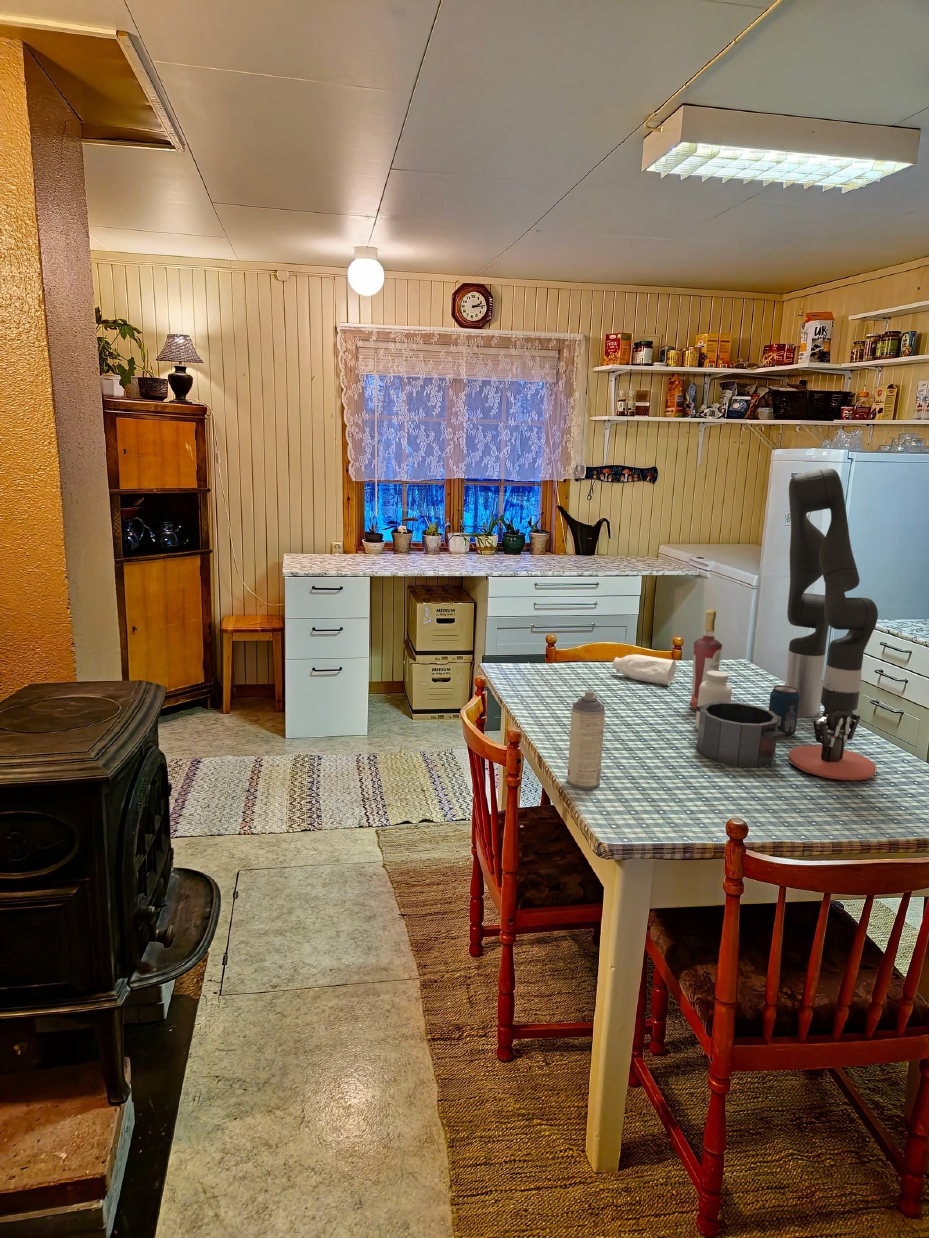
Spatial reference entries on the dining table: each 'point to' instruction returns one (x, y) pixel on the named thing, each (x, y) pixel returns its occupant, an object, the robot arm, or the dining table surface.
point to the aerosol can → (586, 742)
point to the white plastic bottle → (646, 668)
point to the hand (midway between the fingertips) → (831, 759)
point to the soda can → (785, 708)
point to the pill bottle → (713, 690)
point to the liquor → (705, 656)
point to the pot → (738, 734)
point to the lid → (832, 762)
